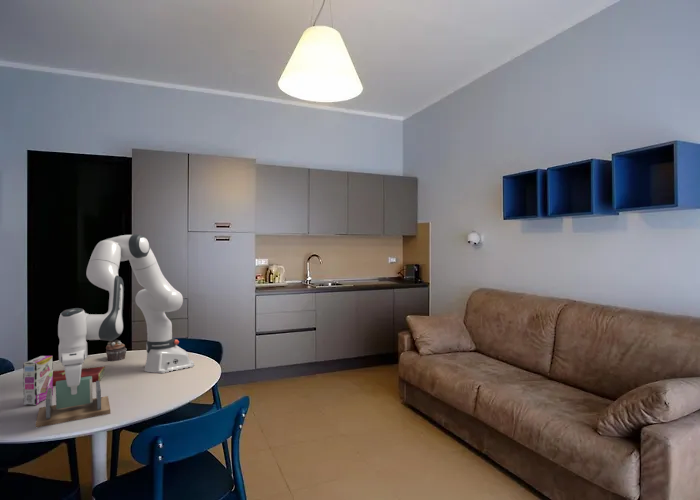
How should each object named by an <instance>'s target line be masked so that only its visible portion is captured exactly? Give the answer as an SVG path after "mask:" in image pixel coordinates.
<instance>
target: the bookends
mask: <svg viewBox="0 0 700 500" xmlns="http://www.w3.org/2000/svg"><path fill="white" fill-rule="evenodd" d="M95 392H96V394H95V398H96V401H97V410H101V397H102V388H101V380H100V381H96V382H95ZM52 405H53V395H52V388H48V391H47V395H46V400H45V407H46V420H48V419H50V418H51V412H52Z"/></svg>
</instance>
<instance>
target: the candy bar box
mask: <svg viewBox="0 0 700 500" xmlns="http://www.w3.org/2000/svg"><path fill="white" fill-rule="evenodd" d="M53 360H54V358H53V355H40V356H37V357H35V358H33V359H29V360H28V361H25V362H23V367H22V368H23V369H22V370H23V372H22V374H23V378H22V379H23V382H22V384H23V406H37V405H39V404H41V403H43V401H46V395H47V391H48V388H52V396H54V386H53V371H54V367H53V365H54V362H53Z"/></svg>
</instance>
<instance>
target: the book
mask: <svg viewBox="0 0 700 500" xmlns="http://www.w3.org/2000/svg"><path fill="white" fill-rule="evenodd" d="M93 395H94V394H93V382H92V376H88V377H81V379H80V385H79V386H77V394H74V395H72V394H71V387H68V386H67V382H66V380H61V381H56V386H55V405H56V409H60V408H66V407H72V406H77V405H83V404H89V403H92V402H93V399H94V398H93V397H94V396H93Z"/></svg>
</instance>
